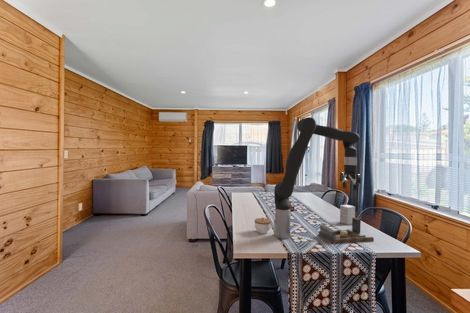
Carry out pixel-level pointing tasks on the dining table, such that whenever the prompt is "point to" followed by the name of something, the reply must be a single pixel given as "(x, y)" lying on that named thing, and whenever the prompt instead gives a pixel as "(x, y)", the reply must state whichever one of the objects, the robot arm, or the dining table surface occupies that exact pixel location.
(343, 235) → the hazelnut
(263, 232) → the lidded jar
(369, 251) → the dining table surface
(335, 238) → the press base
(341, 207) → the supplement box
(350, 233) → the press jaw
